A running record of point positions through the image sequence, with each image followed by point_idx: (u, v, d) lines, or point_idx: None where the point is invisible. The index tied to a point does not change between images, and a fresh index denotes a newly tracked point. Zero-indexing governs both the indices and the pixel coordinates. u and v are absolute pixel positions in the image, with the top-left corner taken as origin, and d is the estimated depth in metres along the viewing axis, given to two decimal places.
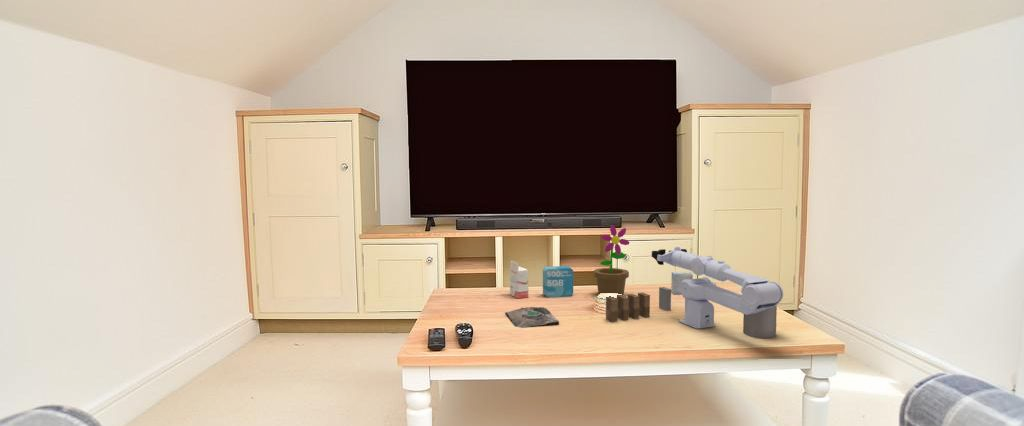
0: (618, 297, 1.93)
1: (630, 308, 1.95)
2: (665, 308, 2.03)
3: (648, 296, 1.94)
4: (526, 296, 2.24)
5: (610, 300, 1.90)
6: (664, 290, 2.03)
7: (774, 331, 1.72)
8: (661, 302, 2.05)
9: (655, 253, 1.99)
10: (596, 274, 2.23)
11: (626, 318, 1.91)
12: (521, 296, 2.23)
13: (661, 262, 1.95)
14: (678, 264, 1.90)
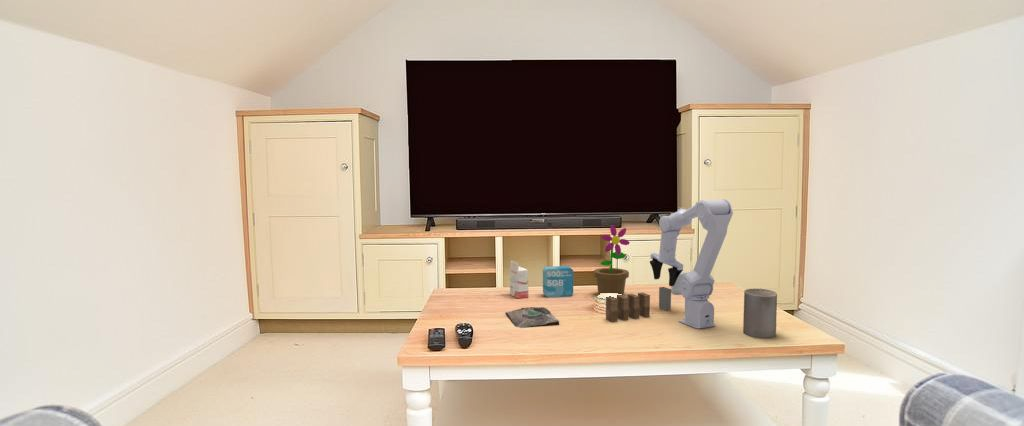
0: (618, 297, 1.93)
1: (630, 308, 1.95)
2: (665, 308, 2.03)
3: (648, 296, 1.94)
4: (526, 296, 2.24)
5: (610, 300, 1.90)
6: (664, 290, 2.03)
7: (774, 331, 1.72)
8: (661, 302, 2.05)
9: None
10: (596, 274, 2.23)
11: (626, 318, 1.91)
12: (521, 296, 2.23)
13: (652, 261, 2.06)
14: None
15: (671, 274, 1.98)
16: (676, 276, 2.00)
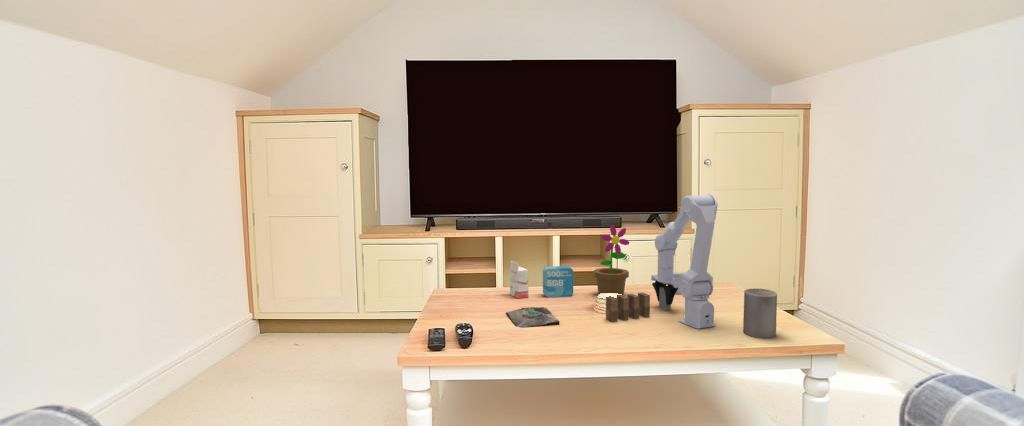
0: (618, 297, 1.93)
1: (630, 308, 1.95)
2: (665, 308, 2.03)
3: (648, 296, 1.94)
4: (526, 296, 2.24)
5: (610, 300, 1.90)
6: None
7: (774, 331, 1.72)
8: (661, 302, 2.05)
9: None
10: (596, 274, 2.23)
11: (626, 318, 1.91)
12: (521, 296, 2.23)
13: (655, 283, 2.07)
14: None
15: (666, 292, 2.00)
16: (673, 294, 2.02)
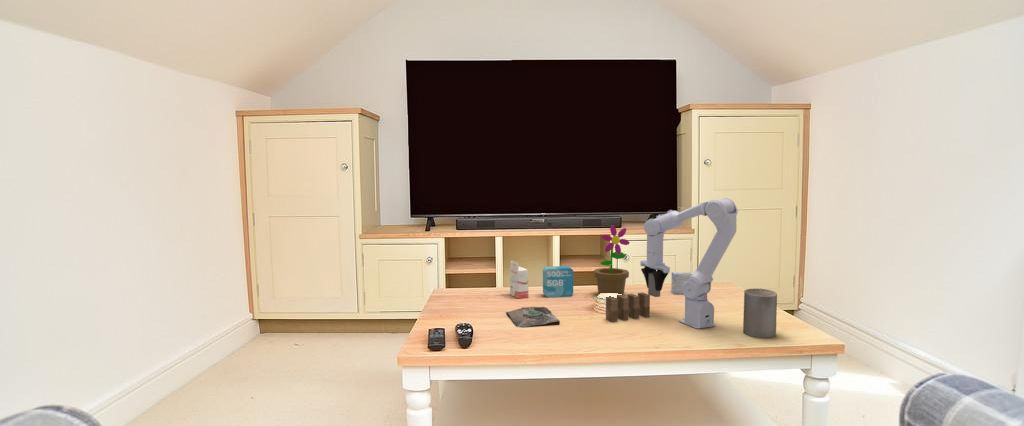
0: (618, 297, 1.93)
1: (630, 308, 1.95)
2: (654, 294, 1.96)
3: (648, 296, 1.94)
4: (526, 296, 2.24)
5: (610, 300, 1.90)
6: (653, 276, 1.96)
7: (774, 331, 1.72)
8: (651, 288, 1.98)
9: None
10: (596, 274, 2.23)
11: (626, 318, 1.91)
12: (521, 296, 2.23)
13: (644, 268, 1.99)
14: None
15: (656, 277, 1.93)
16: (662, 280, 1.95)
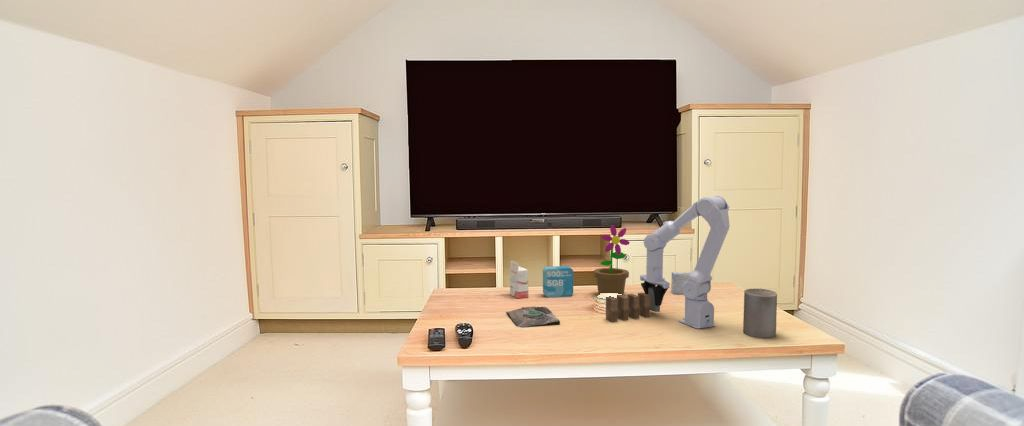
0: (618, 297, 1.93)
1: (630, 308, 1.95)
2: (654, 309, 1.96)
3: (648, 296, 1.94)
4: (526, 296, 2.24)
5: (610, 300, 1.90)
6: None
7: (774, 331, 1.72)
8: (650, 303, 1.98)
9: None
10: (596, 274, 2.23)
11: (626, 318, 1.91)
12: (521, 296, 2.23)
13: (643, 283, 2.00)
14: None
15: (655, 292, 1.93)
16: (662, 295, 1.95)
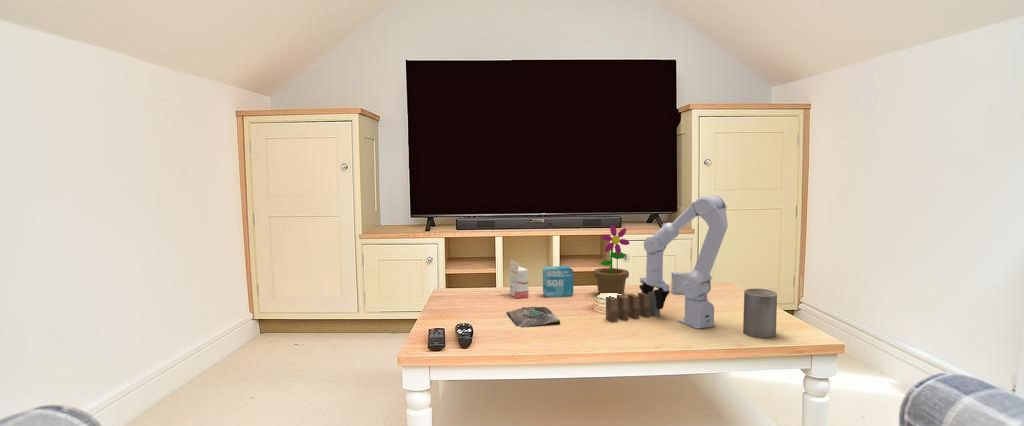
0: (618, 297, 1.93)
1: (630, 308, 1.95)
2: (654, 313, 1.96)
3: (648, 296, 1.94)
4: (526, 296, 2.24)
5: (610, 300, 1.90)
6: (653, 295, 1.96)
7: (774, 331, 1.72)
8: (650, 307, 1.98)
9: None
10: (596, 274, 2.23)
11: (626, 318, 1.91)
12: (521, 296, 2.23)
13: (642, 285, 2.01)
14: None
15: (657, 296, 1.93)
16: (663, 298, 1.94)
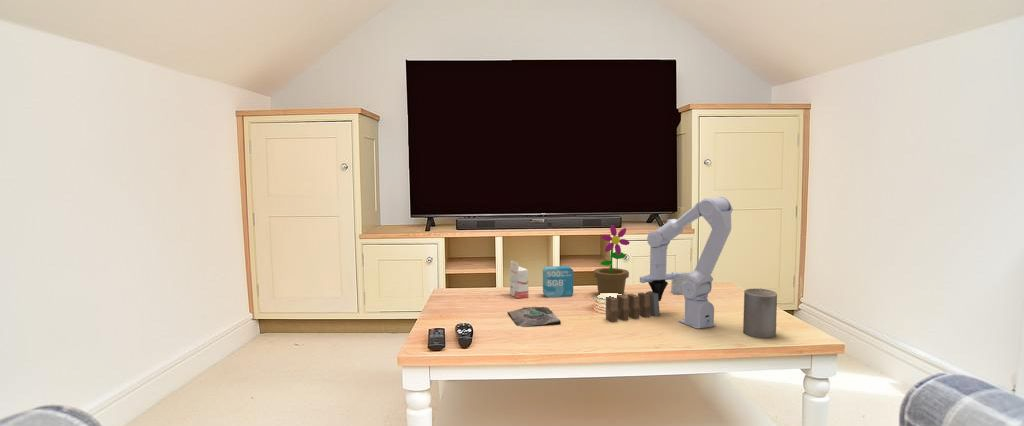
0: (618, 297, 1.93)
1: (630, 308, 1.95)
2: (654, 313, 1.96)
3: (648, 296, 1.94)
4: (526, 296, 2.24)
5: (610, 300, 1.90)
6: (651, 295, 1.96)
7: (774, 331, 1.72)
8: (650, 307, 1.98)
9: None
10: (596, 274, 2.23)
11: (626, 318, 1.91)
12: (521, 296, 2.23)
13: (658, 283, 1.96)
14: (655, 266, 1.95)
15: (664, 287, 1.97)
16: None
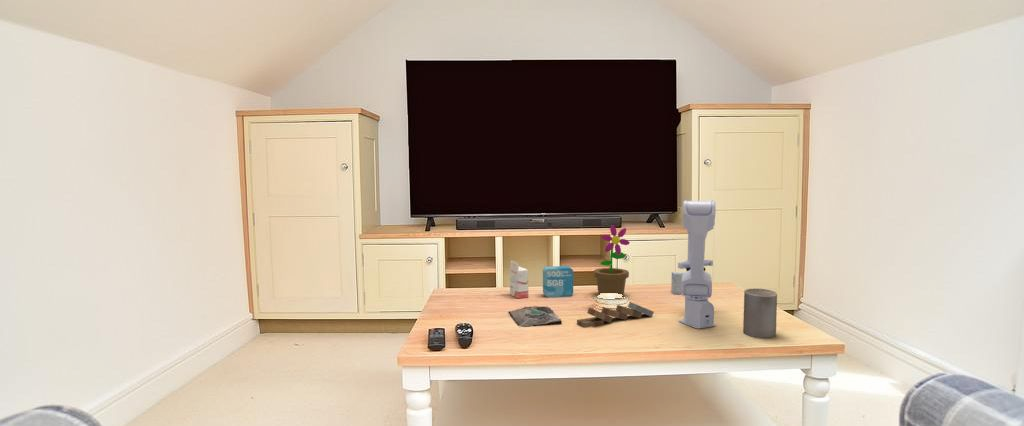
0: None
1: None
2: (649, 315, 1.95)
3: (624, 309, 1.91)
4: (526, 296, 2.24)
5: None
6: None
7: (774, 331, 1.72)
8: None
9: None
10: (596, 274, 2.23)
11: (610, 319, 1.88)
12: (521, 296, 2.23)
13: None
14: None
15: None
16: None
